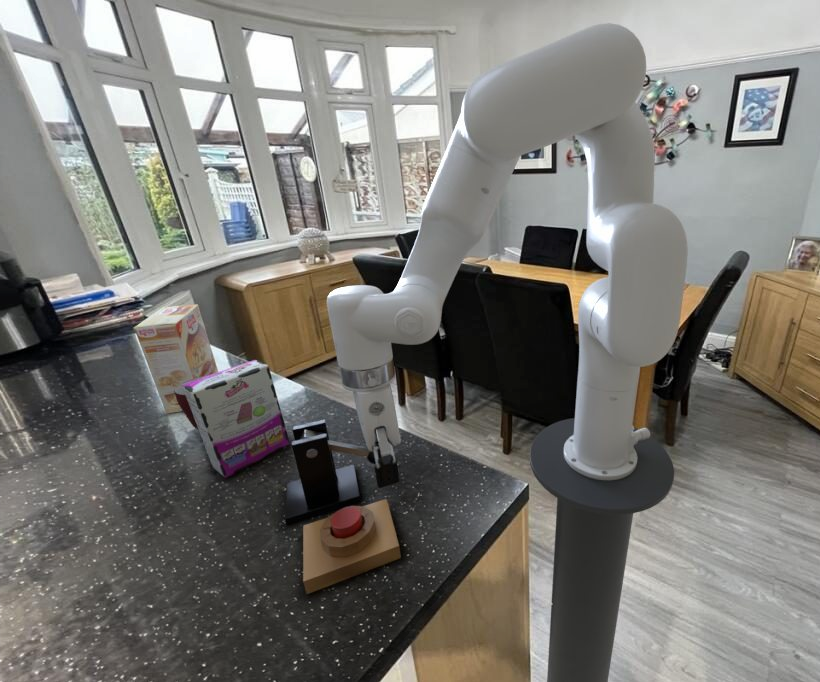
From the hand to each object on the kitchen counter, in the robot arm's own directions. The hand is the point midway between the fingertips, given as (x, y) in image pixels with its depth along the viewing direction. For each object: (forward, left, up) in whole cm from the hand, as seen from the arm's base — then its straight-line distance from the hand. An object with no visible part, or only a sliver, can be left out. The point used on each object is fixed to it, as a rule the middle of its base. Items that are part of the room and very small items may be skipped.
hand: (383, 465), depth 64 cm
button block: (+6, +12, -3) cm, 14 cm away
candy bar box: (+20, -16, -3) cm, 26 cm away
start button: (+6, +12, +1) cm, 14 cm away
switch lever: (+6, 0, +4) cm, 7 cm away
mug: (+27, -30, -3) cm, 41 cm away
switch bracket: (+9, 0, -3) cm, 10 cm away
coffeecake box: (+34, -47, -3) cm, 58 cm away
